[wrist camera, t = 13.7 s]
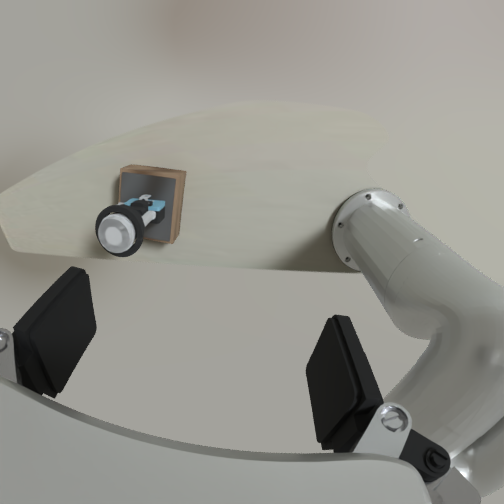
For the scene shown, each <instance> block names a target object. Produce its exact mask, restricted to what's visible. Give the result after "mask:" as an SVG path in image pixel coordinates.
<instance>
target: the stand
mask: <svg viewBox="0 0 504 504" xmlns="http://www.w3.org/2000/svg"><path fill="white" fill-rule="evenodd" d="M185 178H186V171H181V170H174V169H166V168H158V167H150V166H141V165H132V164H131V165H129V166H126V167H123V168H121V169H120V184H119V202H121V203H125V202H127V201H128V200H130V199H132V198H136V199H139V197H141V196H142V195H151V197H149V198H148V200H159V201H165V218H164V219H163V220H162V221H161V222H160V223H159V224H154V223H148V224H147V225H146V226H145V230H144V235H143V239H148V240H154V241H159V242H165V243H170V244H173V243H174V241H175V240H176V238H177V237H178V235H179V230H180V220H181V211H182V202H183V194H184V186H185Z"/></svg>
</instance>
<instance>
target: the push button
mask: <svg viewBox="0 0 504 504" xmlns="http://www.w3.org/2000/svg"><path fill="white" fill-rule="evenodd" d="M149 197H151V195H142V196H141V197H139V199H136V198H132V199H130V200H128V201H127V202H125V203H121V202H119V203H118V204H116V205H112V206H109V207H107V208H105V209H104V210H103V211H101V213H100V214H99V215H98V217H97V220H96V226H95V230H96V235H97V238H98V240H99V242H100V244H101V245H102V247H103V248H104V249H105V250H106V251H108V252H109V253H110V254H112V255H115V256H118V257H127V256H130V255H132V254H134V253H135V252H136V251H137V250H138V249H139V248H140V246H141V244H142V241H143V235H144V230H145V226H146V225H147V224H148V223H154V224H159V223H160V222H161V221H162V220H163V219H164V218H165V201H159V200H148V198H149ZM111 212H115V213H113V214H110V213H111ZM109 214H110V215H109ZM136 238H137V239H136ZM135 239H136V242H135V244H133V242H134V240H135Z"/></svg>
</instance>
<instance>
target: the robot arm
mask: <svg viewBox="0 0 504 504" xmlns="http://www.w3.org/2000/svg"><path fill="white" fill-rule="evenodd" d="M366 195H367V197H365V196H366ZM398 205H399V206H398ZM338 223H340V224H339V225H338ZM332 242H333V246H334V249H335V251H336V253H337V255H338V256H339V258H340V259H341V260H342V262H343V263H344V264H346V265H347V266H349V267H350V268H352V269H354V270H357V271H361V272H362V273H363V275H364V276H365V278H366V280H367V281H368V283H369V284H370V286H371V287H372V289H373V291H374V292H375V294H376V296H377V297H378V299H379V300H380V302H381V304H382V305H383V307H384V309H385V310H386V312H387V313H388V315H389V316H390V318H391V319H392V321H393V323H394V324H395V326H396V327H397V328H399V330H400V331H402V332H403V333H405V334H406V335H408V336H411V337H414V338H418V339H426V340H430V343H429V345H428V347H427V349H426V350H425V351H424V353H423V354H422V355H421V356H420V358H419V359H418V360H417V362H416V364H415V365H414V366H413V367H412V368H411V370H410V371H409V372H408V373H407V374H406V375H405V377H403V379H402V380H401V381H400V382H399V383H398V384H397V385H396V386H395V387H394V388H393V389H392V391H390V393H388V395H387V396H386V397H385V398H384V399H383V398H382V396H381V393H380V391H379V388H378V385H377V382H376V380H375V377H374V375H373V372H372V369H371V367H370V365H369V362H368V359H367V357H366V354H365V353H364V351H363V348H362V346H361V344H360V341H359V339H358V336H357V334H356V331H355V329H354V327H353V324H352V322H351V320H350V318H349V317H348V316H342V315H334V316H333V317H332V318H328V320H327V322H326V324H325V326H324V329H323V331H322V333H321V336H320V338H319V340H318V342H317V345H316V347H315V349H314V351H313V354H312V355H311V357H310V359H309V362H308V364H307V367H306V376H307V382H308V387H309V394H310V400H311V406H312V412H313V419H314V425H315V431H316V437H317V441H318V442H319V443H321V445H322V450H329V449H333V450H334V453H316V454H315V453H313V454H296V453H294V454H293V453H265V452H250V451H239V450H230V449H222V448H214V447H208V446H200V445H195V444H189V443H184V442H179V441H174V440H170V439H165V438H161V437H157V436H153V435H149V434H145V433H141V432H137V431H134V430H130V429H127V428H124V427H120V426H117V425H114V424H111V423H108V422H105V421H102V420H99V419H97V418H94V417H91V416H88V415H86V414H83V413H80V412H78V411H76V410H73V409H71V408H69V407H66V406H64V405H62V404H59V403H57V402H55V401H53V400H50V399H48V398H46V397H44V396H42V394H43V393H44V394H46V395H48V396H50V397H52V398H55V397H56V395H57V393H61V392H62V390H63V389H64V386H65V385H66V383H67V381H68V379H69V377H70V376H71V374H72V372H73V370H74V369H75V367H76V365H77V363H78V362H79V360H80V358H81V356H82V355H83V353H84V351H85V350H86V348H87V346H88V345H89V343H90V342H91V340H92V338H93V337H94V335H95V333H96V321H95V315H94V309H93V303H92V296H91V289H90V281H89V276H88V274H86V272H85V270H84V269H81V268H77V267H70V268H69V269H68V270H67V271H66V272H65V273H64V274H63V275H62V276H61V277H60V278H59V279H58V280H57V281H56V282H55V283H54V284H53V285H52V286H51V287H50V288H49V289H48V290H47V291H46V292H45V293H44V294H43V295H42V296H41V297H40V298H39V299H38V300H37V301H36V302H35V303H34V304H33V306H32V307H31V308H30V309H29V310H28V311H27V312H26V313H25V314H24V316H23V317H22V318H21V319H20V320H19V321H18V323H16V325H15V326H14V327H13V328H14V332H13V333H12V334H11V332H10V331H8V330H7V329H3V328H0V504H480V502H481V497H485V496H487V495H489V494H492V493H493V492H495V491H497V490H499V489H500V488H502V487H503V486H504V287H503V286H502V285H500V284H498V283H497V282H495V281H493V280H492V279H491V278H489V277H487V276H486V275H485V274H483V273H482V272H480V271H479V270H478V269H476V268H475V267H474V266H472V265H471V264H470V263H468V262H467V261H466V260H464V259H463V258H462V257H461V256H460V255H458V254H457V253H456V252H455V251H453V250H452V249H451V248H450V247H448V246H447V245H445V244H444V243H443V242H442V241H441V240H439V239H438V238H437V237H435V236H434V235H433V234H431V233H430V232H429V231H428V230H426V229H425V228H423V227H422V226H421V225H419V224H418V223H417V222H415V221H414V220H412V219H411V218H410V215H409V211H408V209H407V207H406V205H405V204H404V202H403V201H402V200H401V199H400V198H399V197H397V196H396V195H395V194H393V193H391V192H389V191H387V190H383V189H375V188H374V189H366V190H364V191H361V192H358V193H357V194H355V195H353V196H352V197H350V198H349V199H348V200H347V201H346V202H345V203H344V204H343V205H342V207H341V208H340V209H339V211H338V213H337V215H336V217H335V220H334V223H333V227H332ZM346 257H347V258H346Z"/></svg>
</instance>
